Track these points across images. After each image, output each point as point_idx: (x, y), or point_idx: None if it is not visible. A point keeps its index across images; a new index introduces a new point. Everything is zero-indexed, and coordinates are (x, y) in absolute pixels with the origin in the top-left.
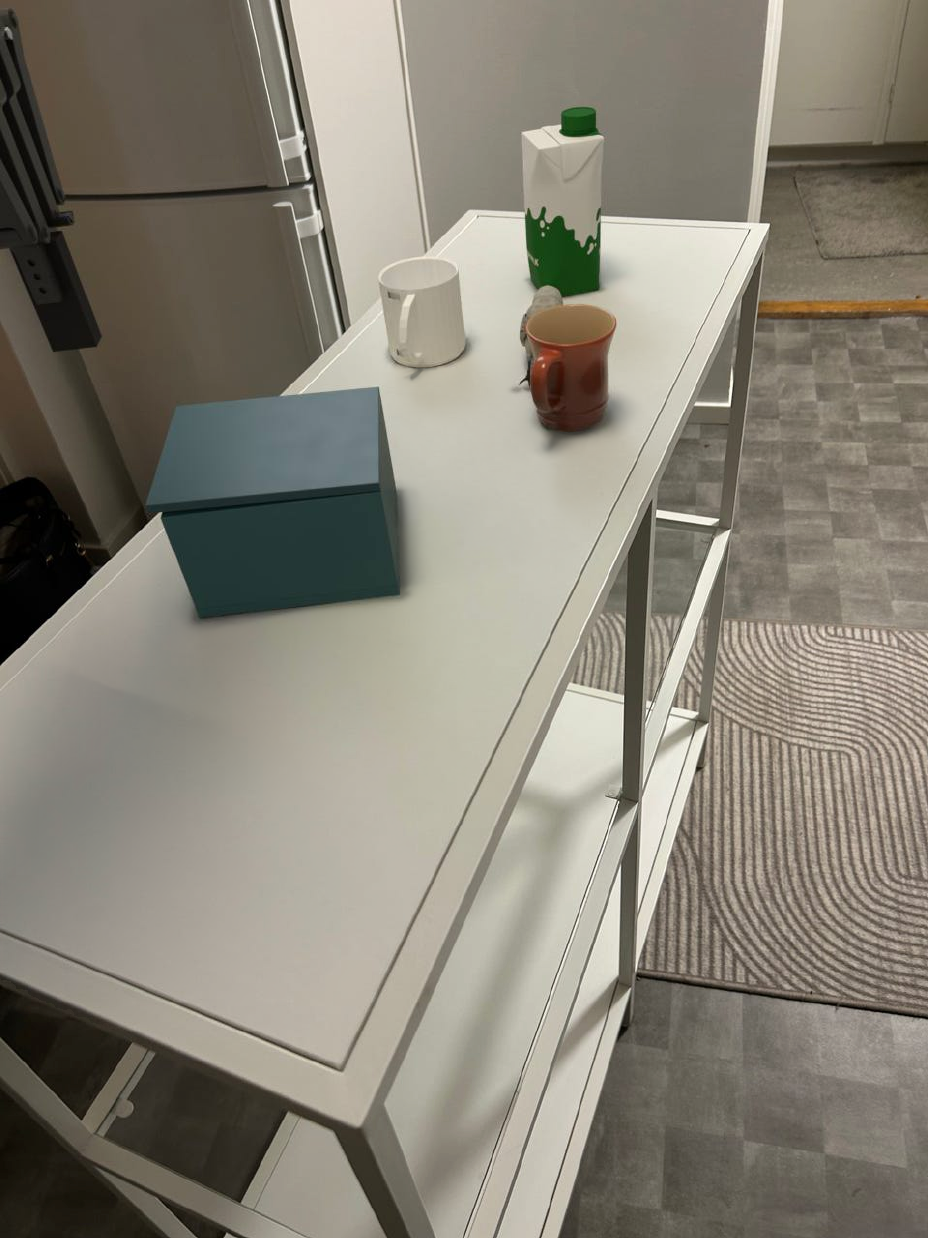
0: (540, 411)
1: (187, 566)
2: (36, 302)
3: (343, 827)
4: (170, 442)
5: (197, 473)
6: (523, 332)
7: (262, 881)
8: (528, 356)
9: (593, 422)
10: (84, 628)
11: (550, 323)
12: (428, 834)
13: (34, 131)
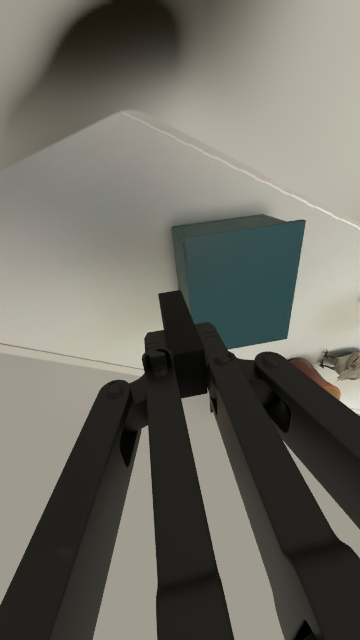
0: (293, 364)
1: (177, 238)
2: (147, 334)
3: (53, 319)
4: (256, 231)
5: (216, 261)
6: (350, 363)
7: (21, 296)
8: (338, 359)
9: None
10: (166, 151)
11: (332, 389)
12: (56, 346)
13: (316, 474)
